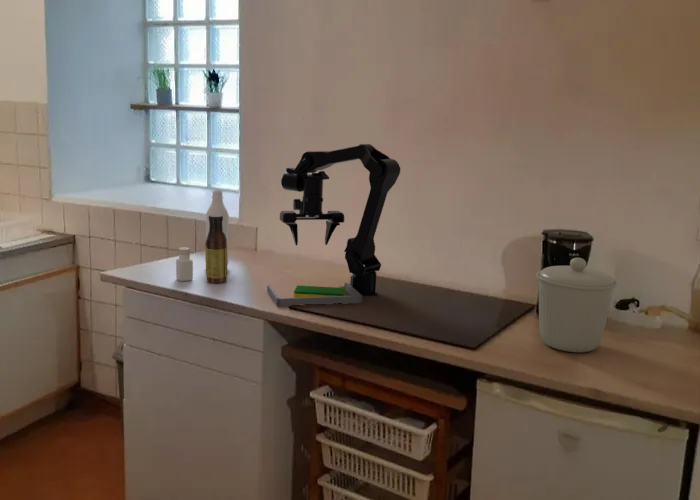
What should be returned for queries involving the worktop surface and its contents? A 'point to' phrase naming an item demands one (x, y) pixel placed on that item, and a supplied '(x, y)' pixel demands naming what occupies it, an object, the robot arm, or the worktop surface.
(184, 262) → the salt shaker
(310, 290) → the dish sponge
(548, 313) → the canister
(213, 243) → the sauce bottle
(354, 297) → the box
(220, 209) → the water bottle
